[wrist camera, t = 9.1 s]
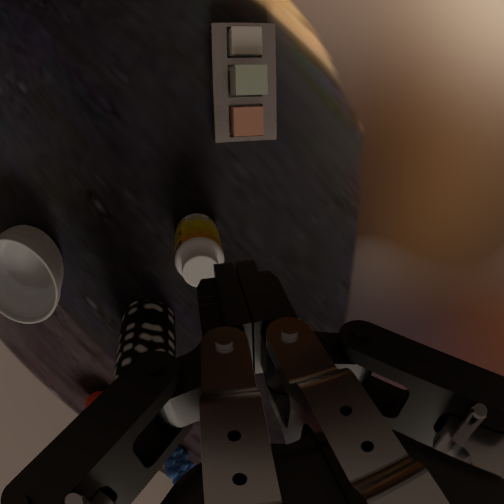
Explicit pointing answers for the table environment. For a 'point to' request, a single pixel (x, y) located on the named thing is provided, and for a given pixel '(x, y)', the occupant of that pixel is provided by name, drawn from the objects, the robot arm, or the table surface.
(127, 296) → the table surface
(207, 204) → the table surface
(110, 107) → the table surface
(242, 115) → the key terracotta
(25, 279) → the ramekin
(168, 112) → the table surface
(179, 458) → the grapes
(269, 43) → the keypad frame
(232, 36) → the key ivory
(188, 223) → the supplement bottle
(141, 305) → the spotted tube
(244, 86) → the key sage
